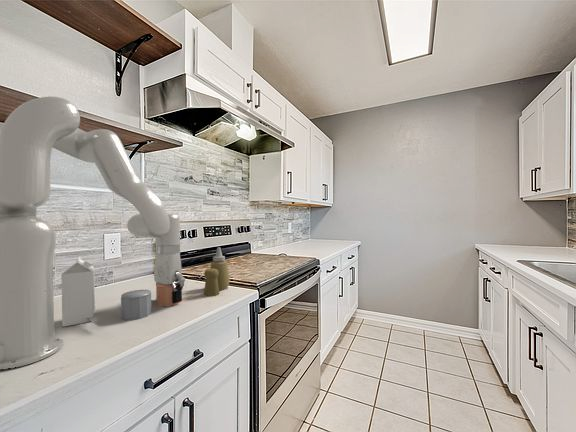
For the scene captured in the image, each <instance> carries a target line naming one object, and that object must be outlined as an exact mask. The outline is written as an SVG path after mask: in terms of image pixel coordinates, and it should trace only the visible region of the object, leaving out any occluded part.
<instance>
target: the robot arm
mask: <svg viewBox="0 0 576 432" xmlns="http://www.w3.org/2000/svg"><path fill="white" fill-rule="evenodd" d="M80 123H81V115H80V112H79V110H78V108H77V106H75V104H73V102H71V101H69V100H67V99H65V98H63V97H59V96H41V97H36V98H34V99H29V100H27V101H25V102H23V103H21V104H20V105H18V107H16V108H15V109H14V110H13V111H12V112H11V113H10V114H8V116H7V117H6V120H5V121H4V123H3V124H2V127H1V130H0V369H4V370H9V369H8V368H11V369H15V367H16V368H21V367H24V366H27V365H29V364H30V365H31V364H34V363H36V362H39V361H41V360H44V359H46V358H49V357H50V356H53V354H56V353H57V352H58V351H60V350H61V349H62V348H63V345H64V341H63V339H62V338H61V337H58V336H55V313H54V309H55V308H54V307H55V306H54V270H53V269H54V256H55V250H56V243H57V242H56V241H57V240H56V239H57V238H56V233H55V230H54V228H53V227H52V225H51V224H50V223H49V222H47V221H46V220H45V219H42V218H40V217H37V208H38V207H41V206H43V205H45V204H46V203H47V201H49V199H50V196H51V157H52V150H53V149H55V150H58V151H60V152H61V153H63V154H66V155H69V156H70V157H73V158H75V159H77V160H80V161H83V162H86V163H90V164H91V163H92V164H95V166H96V168H97V169H98V171H99V173H100V175H101V176H102V178H103V181H104V182H105V184H106V187H107V188H108V189H109V190H110V191H111V192H112V193H113V194H116V195H118V196H119V197H121V198H123V199H125V200H126V201H128V202H129V203H130V204H131V205H132V206H134V207H135V209H136V210H137V212H139V213H137V214H134V215H133V216H131V217H130V218H129V219H128V220H127V224H126V226H127V229H128V232H129V234H132V235H133V236H135V237H139V238H154V239H155V258H154V269H153V271H154V273H153V277H154V278H153V281H154V282H155V285H156V284H157V283H160V284H163V285H170V284H171V286H172V288H173V291H172V303H178V302H180V303H181V302H182V301H183V290H184V289H183V288H184V286H185V280H186V278H185V277H184V276H183V271H182V270H183V269H182V259H181V230H180V229H181V228H180V227H181V224H180V223H181V222H180V215H178V214H176V213H175V214H174V213H168V212H167V211H166V209H165V205H163V203H162V201H161V199H160V198H159V196H157V194H155V192H154V191H153V190H152V189H151V188H150V187H149V186H148V185H147V184H146V183H144V181H143V180H141V178H140V176H139V175H138V172H137V171H136V169H135V167H134V165H133V163H132V160H131V158H130V156H129V155H128V153H127V151H126V149H125V146H124V144H123V143H122V140H121V138H119V136H118V135H117V134H116V133H115V132H114V131H112V130H109V129H104V128H99V129H93V130H89V131H85V130H83V129H81V128H79V126H80ZM175 284H177V286H175ZM178 304H179V303H178ZM6 368H7V369H6Z"/></svg>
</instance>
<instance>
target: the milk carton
mask: <svg viewBox="0 0 576 432" xmlns="http://www.w3.org/2000/svg"><path fill="white" fill-rule="evenodd" d="M95 275H96V274H95V266H93V263H92V262H91V261H89V260H87V259H86V260H85V261H84V260H83V259H82V258H81V255H79V256H78V257H77V258H76V262H75V263H73V264H72V265H71V266H69V267H68V268H67V269H65V271H63V272H62V273H61V313H62V316H61V319H62V320H61V321H62V322H61V323H62V324H61V325H62V327H69V326H74V325H80V324H87V323H91V322H92V320H90V319H89V318H94V315H95V311H96V291H95V290H96V286H95V285H96V284H95V283H96V282H95V281H96V280H95V279H96V278H95Z"/></svg>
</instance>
